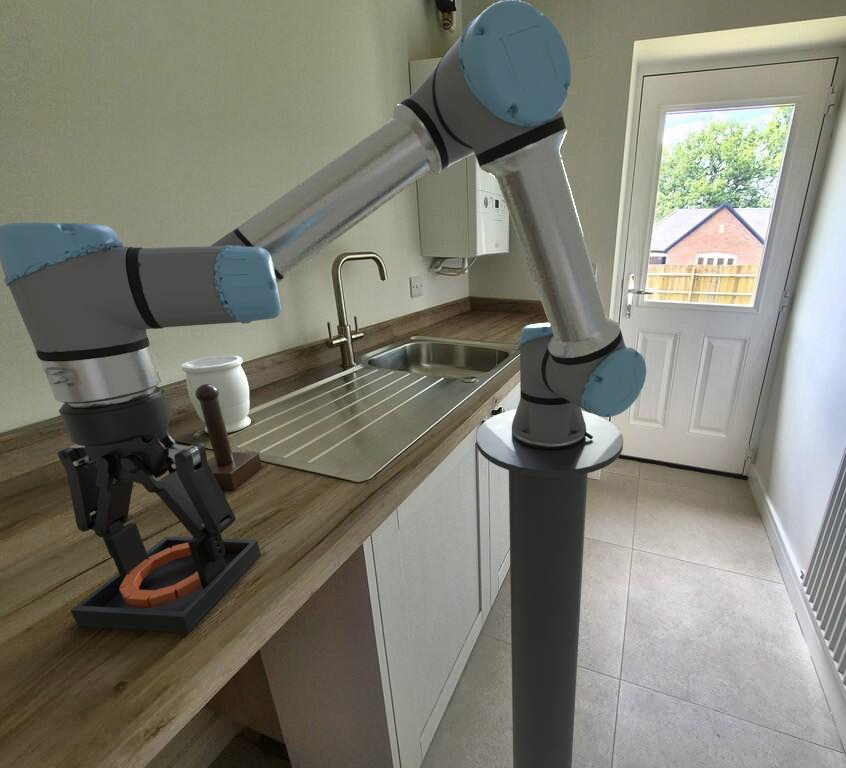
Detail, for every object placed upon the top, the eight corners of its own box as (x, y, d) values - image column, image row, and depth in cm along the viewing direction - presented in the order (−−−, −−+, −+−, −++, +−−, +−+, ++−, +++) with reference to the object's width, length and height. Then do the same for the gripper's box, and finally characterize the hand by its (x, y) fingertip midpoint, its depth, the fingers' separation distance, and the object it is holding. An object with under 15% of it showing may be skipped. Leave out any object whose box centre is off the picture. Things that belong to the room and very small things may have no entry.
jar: (266, 417, 94) (253, 354, 90) (236, 437, 84) (219, 367, 80) (222, 417, 95) (206, 354, 90) (186, 437, 85) (166, 367, 80)
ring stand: (262, 467, 73) (241, 378, 67) (234, 489, 66) (208, 392, 61) (225, 466, 73) (201, 377, 68) (193, 488, 66) (164, 391, 61)
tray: (261, 555, 52) (257, 540, 51) (188, 633, 41) (182, 616, 41) (171, 550, 53) (166, 536, 52) (77, 627, 42) (69, 610, 41)
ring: (239, 550, 50) (237, 542, 50) (179, 610, 42) (176, 601, 42) (172, 547, 51) (170, 539, 51) (100, 606, 43) (96, 597, 42)
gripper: (-40, 407, 37) (54, 602, 44) (184, 410, 35) (243, 612, 42) (55, 381, 44) (122, 552, 51) (244, 383, 42) (286, 559, 49)
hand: (177, 579), depth 47 cm, fingers closed on ring, 9 cm apart
